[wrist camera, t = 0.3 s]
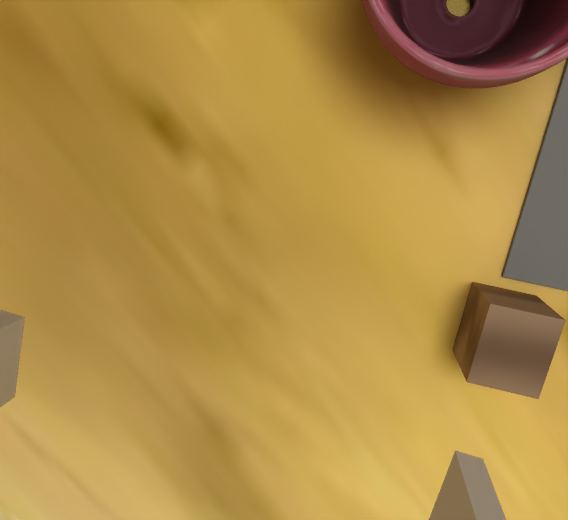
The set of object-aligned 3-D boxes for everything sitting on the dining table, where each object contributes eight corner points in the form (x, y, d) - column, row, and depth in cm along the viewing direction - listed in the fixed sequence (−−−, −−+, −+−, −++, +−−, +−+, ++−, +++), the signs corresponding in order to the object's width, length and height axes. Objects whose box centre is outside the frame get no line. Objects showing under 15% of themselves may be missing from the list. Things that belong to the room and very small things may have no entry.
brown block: (472, 281, 40) (490, 303, 34) (536, 295, 40) (565, 320, 34) (452, 349, 42) (466, 381, 36) (513, 364, 41) (538, 399, 35)
